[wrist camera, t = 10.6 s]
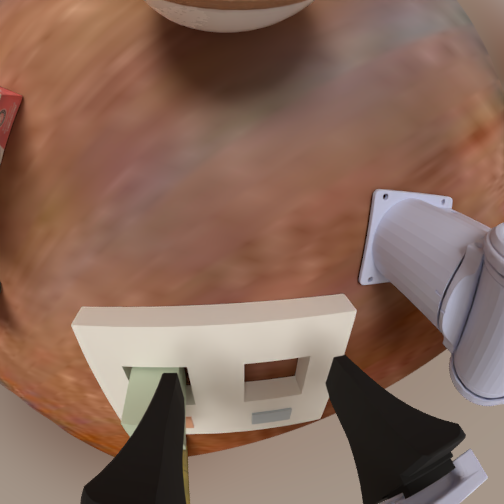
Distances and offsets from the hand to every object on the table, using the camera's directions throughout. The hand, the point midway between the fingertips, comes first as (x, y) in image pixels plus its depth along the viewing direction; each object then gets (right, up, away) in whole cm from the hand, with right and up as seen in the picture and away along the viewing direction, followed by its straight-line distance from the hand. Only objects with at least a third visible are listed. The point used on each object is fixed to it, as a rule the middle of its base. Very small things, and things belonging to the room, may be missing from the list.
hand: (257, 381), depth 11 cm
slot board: (-4, -5, +12) cm, 14 cm away
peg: (-8, -4, +11) cm, 15 cm away
